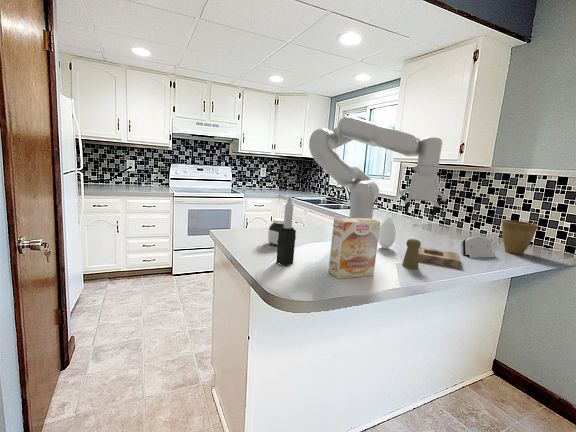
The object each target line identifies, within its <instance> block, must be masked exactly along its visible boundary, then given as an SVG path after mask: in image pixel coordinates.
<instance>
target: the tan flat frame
mask: <svg viewBox="0 0 576 432" xmlns="http://www.w3.org/2000/svg"><path fill="white" fill-rule="evenodd" d="M459 254H460V253H459V252H453V251H446V250H440V249H436V248H435V249H434V248H429V247H423V246H420V248H419V253H418V262H424V263H428V264H433V265H440V266H444V267H451V268H456V269H460V268H461V267H460V266H461V258H460V255H459Z"/></svg>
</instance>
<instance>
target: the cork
mask: <svg viewBox="0 0 576 432" xmlns="http://www.w3.org/2000/svg"><path fill="white" fill-rule="evenodd" d="M405 245H406V246H407V248H406V251H405V254H404V258H403V260H402V267H403V268H406V269H409V270H410V269H411V270H418V269H419V261H418V253H419V248H420V247H422V244H421V241H420V240H418V239H416V238H409V239H407V241H406V244H405Z"/></svg>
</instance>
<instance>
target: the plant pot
mask: <svg viewBox="0 0 576 432" xmlns="http://www.w3.org/2000/svg"><path fill="white" fill-rule="evenodd" d="M538 227H539V224H536V223H531V222H527V221H520V220H511V219H502V220H501V233H502V242H503V247H504V251H505V252H506V253H508V254H514V255H523V254H524V253H525V252H526V251H527V249H528V247H529V246H530V244H531V242H532V240H533V238H534V236H535V234H536V232H537V229H538Z"/></svg>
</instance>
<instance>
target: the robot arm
mask: <svg viewBox="0 0 576 432" xmlns="http://www.w3.org/2000/svg"><path fill="white" fill-rule="evenodd" d="M351 141H356V142H359V143H362V144H365V145H368V146H372V147H378V148H383V149H384V150H385V149H386V150H388V151H389V150H390V151H392V152H394V153H398V154H401V155H403V156H405V157H417V162H416V163H417V164H416V165H415V166H412V171H414V172H415V173H412V177H411V180H410V184H409V187H407V188H405V189H402V190H400V191H399V196H400V198H401V199H402V201H403V202H404V209H403V211H404V212H405V214H408V213H409V208H410V201H411V200H415V201H423V202H432V203H433V205H434V206H433V208H432V215H431V217H432V218H435V216H437V214H438V209H439V208H438V207H440V206H441V205H443V204H445V202H446V201H447V199H448V195H446V194H445V193H444V192H441V191H440V190H439V187H440V175H438V171H439V165H440V160H441V152H442V146H443V139H442V138H439V137H433V136H431V137H430V136H427V137H426V136H425V137H423V138H421V137H420V138H419V137H416V136H415V135H413V134H410V133H408V132H404V131H401V130H397V129H394V128H391V127H387V126H384V125H381V124H379V123H378V124H377V123H375V122H371V121H367V120H365V119H361V118H358V117H354V116H350V115H349V116H348V115H346V116H343V117H341V118H340V120H339V121H338V123H337V126H336V127H334V128H333V129H331V130H329V129H327V128H317V129H315V130H313V131H312V133H311V135H310V136H309V141H308V142H309V143H308V149H309V152H310V155H311V157H312V158H313V159H314V162H316V163H317V164H318V165H319V166H320V167H321V168H322V169H323V170H324V171H325V172H326V173H327V174H328V175H329V176H330V177H331V178H332V179H333V180H334V181H335V182H336V183H337V184H339V185H340V186H342V187H347V188H349V190H350V194H349V195H350V199H349V200H350V202H349V203H350V204H349V205H350V206H349V215H348V217H349V218H369V219H373V215H374V214H373V213H374V203H375V201H376V199H378V197H379V196H380V195H379V194H380V189H379V186H378V184H377V183H376V182H375V181H374V180H373V179H372V178H370V176H368V175H367V174H366V173H365V172H364V171H363V170H362V169H360V168H359V167H358V166H356V165H354V164H351V163H348V162H347V161H345V160H344V159H343V158H342V157H340V155H338V154H337V153H336V152H335V151H334V149H337V148H339V147H341V146H344V145H346V144H348V143H350V142H351ZM407 192H408V198H407V197H406V196H405V193H407ZM439 196H440V197H441V198H442V199H440V200H439V201H437V199H438V197H439Z"/></svg>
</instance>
